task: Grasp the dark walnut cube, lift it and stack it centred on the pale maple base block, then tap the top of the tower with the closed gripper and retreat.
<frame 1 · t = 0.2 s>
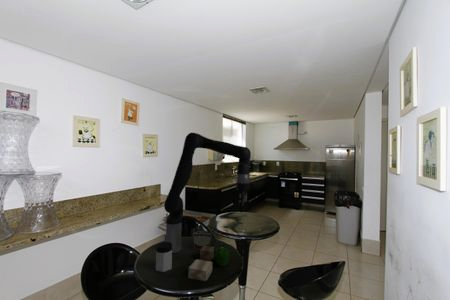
hand: (242, 210, 122), 28 cm above the table, fingers open, 8 cm apart
food container: (202, 247, 138), on the table
maple base: (200, 275, 107), on the table
bell pepper: (221, 264, 117), on the table
walnut cube: (206, 259, 123), on the table
jar: (163, 268, 113), on the table
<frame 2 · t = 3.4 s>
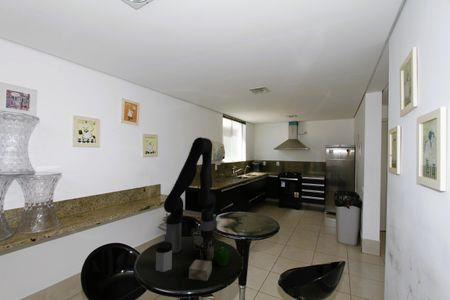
hand: (206, 257, 123), 1 cm above the table, fingers closed on walnut cube, 6 cm apart
walnut cube: (206, 258, 123), on the table, touching gripper
everything else where it was.
when the fingers open (7 cm above the table, at t = 8.5 s): walnut cube drops 1 cm, point 5 cm above the table.
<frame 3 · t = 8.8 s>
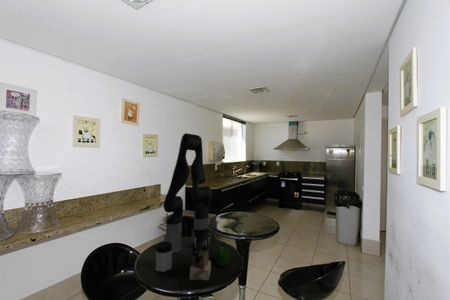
hand: (200, 259, 107), 8 cm above the table, fingers open, 8 cm apart
walnut cube: (200, 264, 107), point 5 cm above the table
everything else where it was.
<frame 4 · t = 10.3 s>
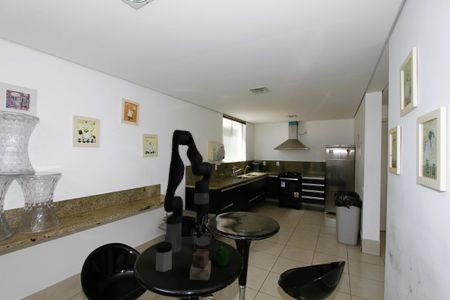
hand: (201, 235, 107), 19 cm above the table, fingers open, 5 cm apart
maple base: (200, 275, 107), on the table, touching walnut cube
walnut cube: (200, 265, 107), point 5 cm above the table, touching maple base
everything else where it was.
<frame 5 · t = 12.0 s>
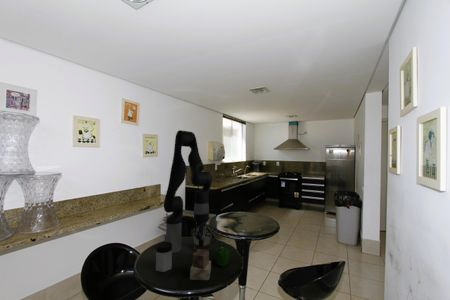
hand: (201, 246, 107), 14 cm above the table, fingers closed
maple base: (200, 275, 107), on the table
walnut cube: (200, 264, 107), point 5 cm above the table
everything else where it was.
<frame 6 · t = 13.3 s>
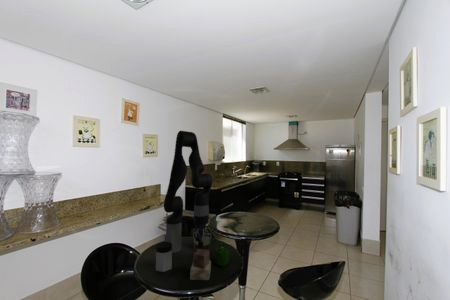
hand: (200, 248, 107), 13 cm above the table, fingers closed
maple base: (200, 275, 107), on the table, touching walnut cube
walnut cube: (201, 264, 107), point 5 cm above the table, touching maple base
everything else where it was.
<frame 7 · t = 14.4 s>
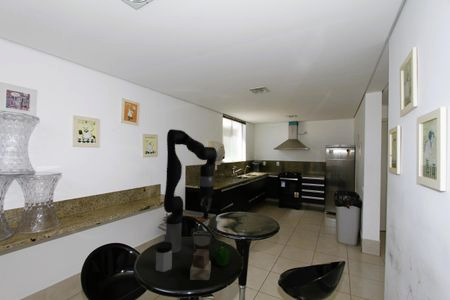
hand: (205, 217, 112), 27 cm above the table, fingers closed
maple base: (200, 275, 107), on the table
walnut cube: (200, 264, 107), point 5 cm above the table
everything else where it was.
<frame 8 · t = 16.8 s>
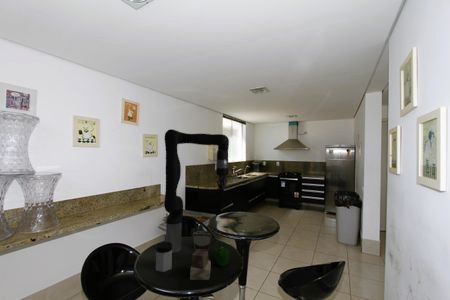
hand: (222, 195, 131), 35 cm above the table, fingers closed
maple base: (200, 274, 107), on the table, touching walnut cube
walnut cube: (200, 265, 107), point 5 cm above the table, touching maple base
everything else where it was.
at the end: walnut cube inside the target area on the maple base (0.4 cm from its centre), point 5.0 cm above the maple base's base; walnut cube tilted 0°; the gripper is holding nothing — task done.
